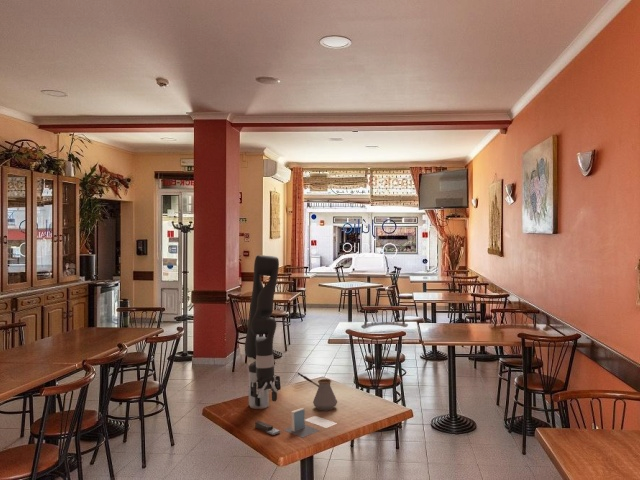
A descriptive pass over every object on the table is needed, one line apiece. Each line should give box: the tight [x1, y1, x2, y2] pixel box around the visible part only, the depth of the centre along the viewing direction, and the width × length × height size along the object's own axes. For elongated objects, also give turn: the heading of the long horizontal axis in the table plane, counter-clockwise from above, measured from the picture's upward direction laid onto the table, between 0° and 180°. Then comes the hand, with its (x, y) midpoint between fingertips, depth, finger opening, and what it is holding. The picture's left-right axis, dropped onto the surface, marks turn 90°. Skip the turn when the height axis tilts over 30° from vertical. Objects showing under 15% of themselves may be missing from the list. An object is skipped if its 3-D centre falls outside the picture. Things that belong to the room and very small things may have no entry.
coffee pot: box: [295, 372, 338, 411], centre depth 247 cm, size 21×12×15 cm, turn 59°
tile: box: [290, 407, 306, 431], centre depth 217 cm, size 2×6×8 cm, turn 134°
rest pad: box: [305, 415, 338, 429], centre depth 225 cm, size 14×7×1 cm, turn 44°
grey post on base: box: [254, 420, 282, 436], centre depth 217 cm, size 13×4×3 cm, turn 44°
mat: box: [283, 424, 321, 438], centre depth 216 cm, size 12×10×1 cm
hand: (266, 403), depth 217 cm, fingers open, 8 cm apart
